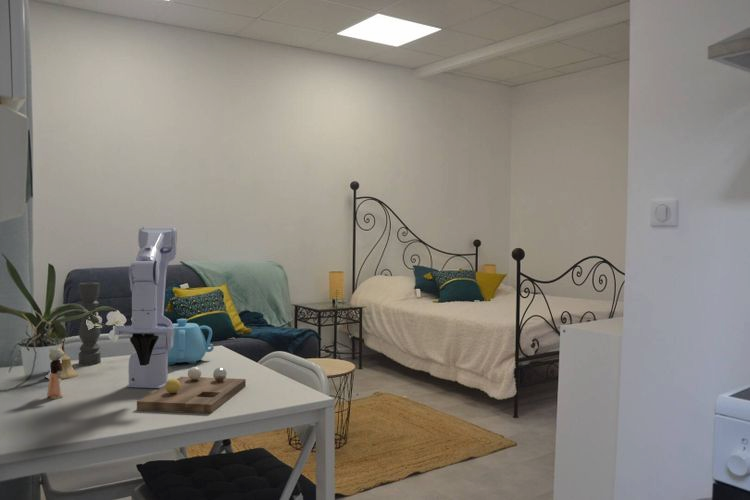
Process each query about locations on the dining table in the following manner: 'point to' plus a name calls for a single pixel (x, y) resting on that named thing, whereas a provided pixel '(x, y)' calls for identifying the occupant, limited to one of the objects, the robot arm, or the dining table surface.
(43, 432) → the dining table surface
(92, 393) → the dining table surface
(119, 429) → the dining table surface
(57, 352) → the grandmother figurine
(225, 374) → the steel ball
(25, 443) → the dining table surface
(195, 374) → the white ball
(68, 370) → the hand bell
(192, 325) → the decorative pot
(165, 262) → the robot arm
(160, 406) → the hole plate
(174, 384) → the ball
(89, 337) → the candle holder
